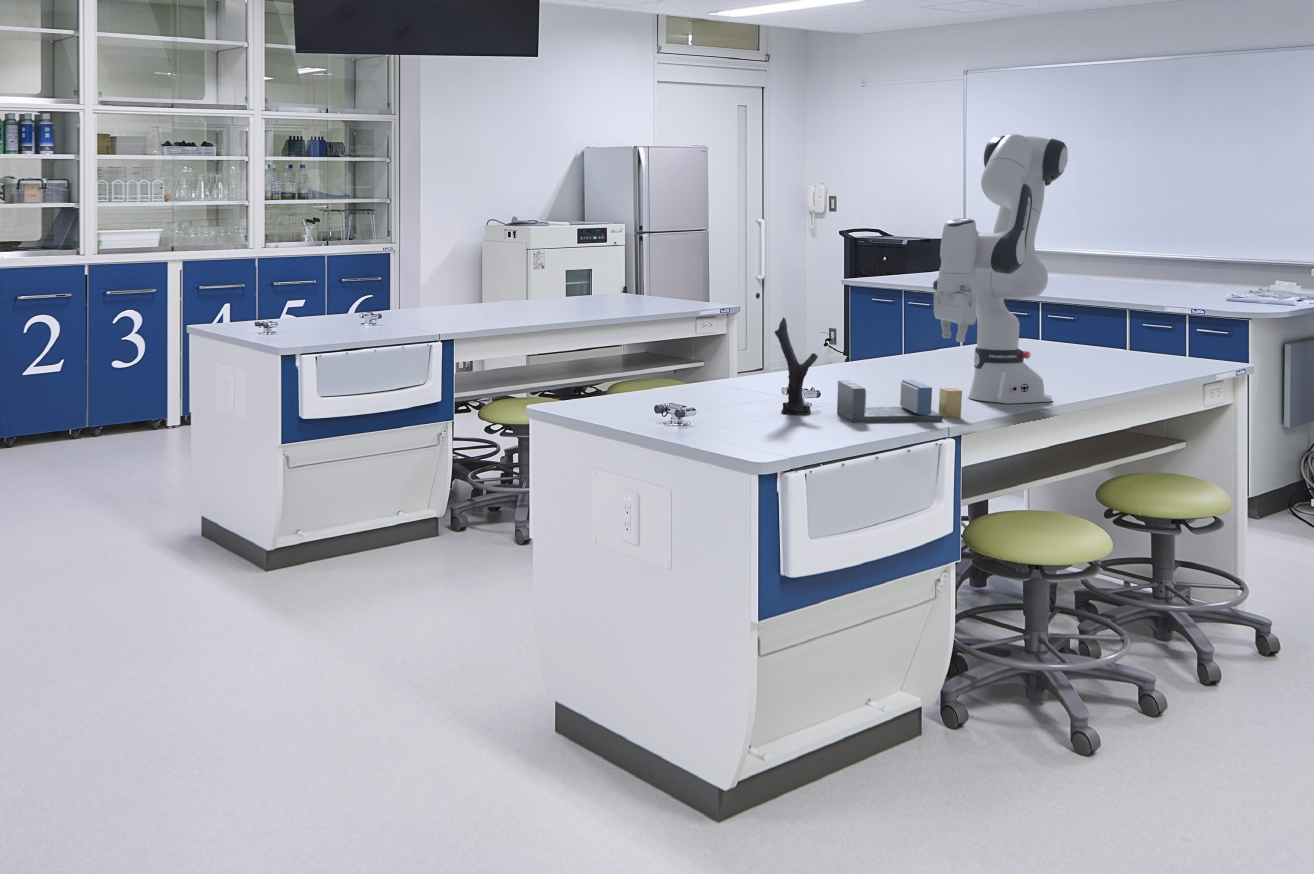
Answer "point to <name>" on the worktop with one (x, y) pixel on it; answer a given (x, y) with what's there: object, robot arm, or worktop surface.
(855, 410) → the base
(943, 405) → the brass block
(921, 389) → the sliding jaw
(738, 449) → the worktop surface
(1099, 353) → the worktop surface
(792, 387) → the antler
